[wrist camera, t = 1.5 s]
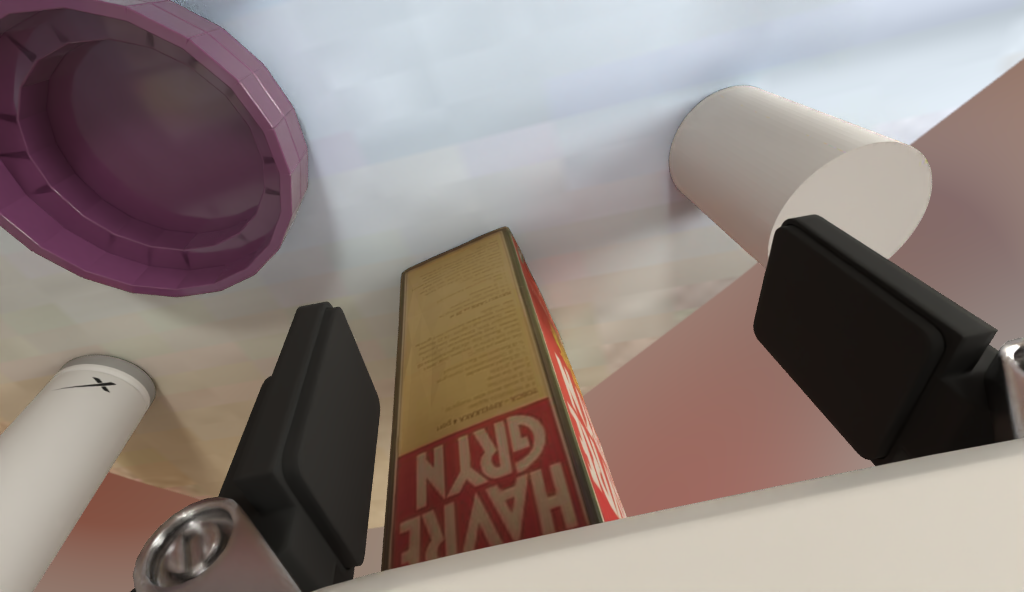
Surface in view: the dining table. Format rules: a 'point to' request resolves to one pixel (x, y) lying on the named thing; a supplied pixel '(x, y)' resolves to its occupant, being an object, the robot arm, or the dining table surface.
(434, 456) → the food packaging
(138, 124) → the bowl
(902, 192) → the white cylinder
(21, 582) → the travel mug
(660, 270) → the dining table surface
